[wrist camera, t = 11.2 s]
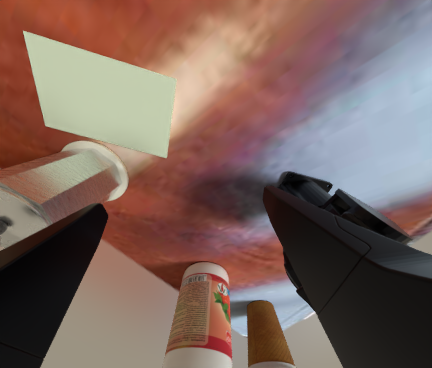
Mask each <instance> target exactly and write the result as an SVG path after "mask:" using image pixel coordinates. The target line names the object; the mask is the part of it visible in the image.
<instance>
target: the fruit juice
mask: <svg viewBox="0 0 432 368" xmlns="http://www.w3.org/2000/svg"><path fill="white" fill-rule="evenodd" d="M162 368H232V347H231V321H230V296H229V278H228V274H227V272H226V271H225V269H224V268H222V267H221V266H219V265H217V264H214V263H210V262H199V263H195V264H193V265H191V266H189V267H188V268H187V269H186V271H185V273H184V275H183V279H182V283H181V288H180V292H179V296H178V301H177V306H176V310H175V314H174V319H173V323H172V327H171V332H170V336H169V341H168V345H167V349H166V353H165V357H164V362H163V366H162Z"/></svg>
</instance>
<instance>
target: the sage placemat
mask: <svg viewBox="0 0 432 368" xmlns="http://www.w3.org/2000/svg"><path fill="white" fill-rule="evenodd" d="M23 33H24V37H25V42H26V46H27V50H28V54H29V59H30V63H31V67H32V71H33V76H34V80H35V84H36V88H37V93H38V97H39V101H40V105H41V110H42V114H43V118H44V122H45V126H47V127H51V128H55V129H59V130H62V131H66V132H70V133H74V134H77V135H81V136H85V137H89V138H92V139H96V140H100V141H104V142H107V143H111V144H115V145H119V146H122V147H126V148H130V149H134V150H137V151H141V152H145V153H149V154H152V155H156V156H160V157H164V158H167V153H168V145H169V137H170V129H171V122H172V114H173V106H174V98H175V90H176V82H177V79H175V78H171V77H168V76H165V75H162V74H159V73H156V72H152V71H149V70H146V69H143V68H140V67H137V66H133V65H130V64H127V63H124V62H121V61H118V60H114V59H111V58H108V57H105V56H102V55H99V54H95V53H92V52H89V51H86V50H83V49H80V48H76V47H73V46H70V45H67V44H64V43H61V42H57V41H54V40H51V39H48V38H45V37H42V36H38V35H35V34H32V33H29V32H26V31H23Z"/></svg>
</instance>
